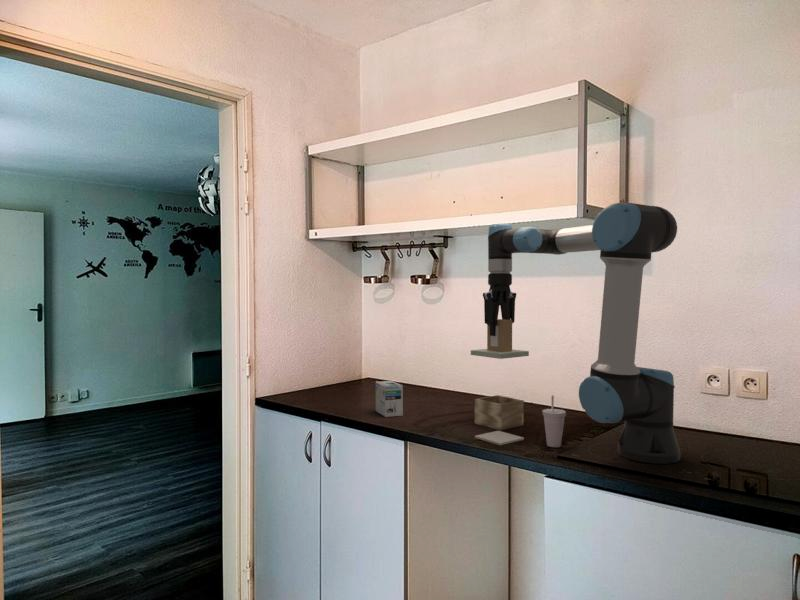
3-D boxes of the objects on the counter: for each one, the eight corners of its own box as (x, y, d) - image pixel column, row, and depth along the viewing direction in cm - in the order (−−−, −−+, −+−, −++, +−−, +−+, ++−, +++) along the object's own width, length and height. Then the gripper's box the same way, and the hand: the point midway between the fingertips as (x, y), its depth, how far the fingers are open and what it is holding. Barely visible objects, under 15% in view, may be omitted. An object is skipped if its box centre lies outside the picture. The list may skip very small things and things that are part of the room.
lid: (528, 355, 180) (528, 319, 180) (500, 358, 172) (501, 321, 172) (498, 352, 190) (498, 318, 190) (470, 354, 182) (470, 319, 182)
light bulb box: (403, 416, 194) (403, 384, 193) (385, 417, 191) (385, 385, 191) (392, 409, 204) (392, 380, 203) (374, 411, 201) (374, 381, 201)
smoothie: (537, 443, 160) (537, 394, 159) (556, 441, 162) (556, 392, 162) (551, 449, 154) (551, 398, 153) (570, 447, 156) (571, 396, 156)
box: (523, 425, 181) (523, 400, 181) (500, 430, 174) (500, 404, 174) (497, 418, 190) (497, 395, 190) (474, 423, 183) (474, 398, 183)
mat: (523, 439, 164) (523, 437, 164) (500, 445, 158) (500, 443, 158) (498, 432, 172) (498, 430, 172) (474, 437, 166) (474, 435, 166)
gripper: (509, 273, 189) (508, 343, 189) (472, 272, 179) (472, 346, 179) (526, 273, 183) (526, 345, 183) (490, 272, 173) (489, 348, 173)
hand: (499, 345), depth 181 cm, fingers closed on lid, 4 cm apart
